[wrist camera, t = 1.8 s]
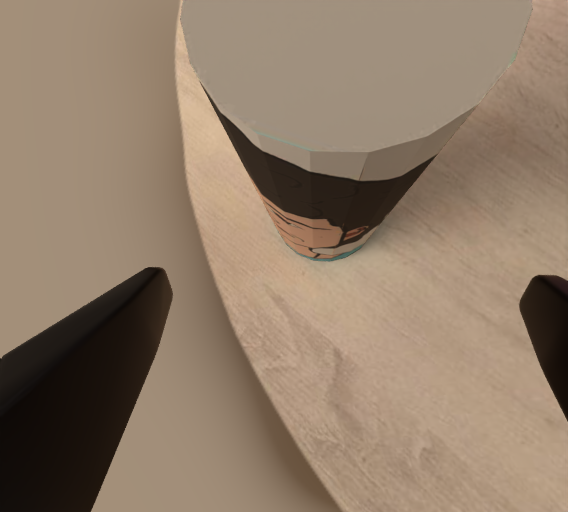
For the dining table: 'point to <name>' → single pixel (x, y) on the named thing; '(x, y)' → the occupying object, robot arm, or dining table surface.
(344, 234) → the cartoon face cylinder
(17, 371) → the robot arm
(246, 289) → the dining table surface
